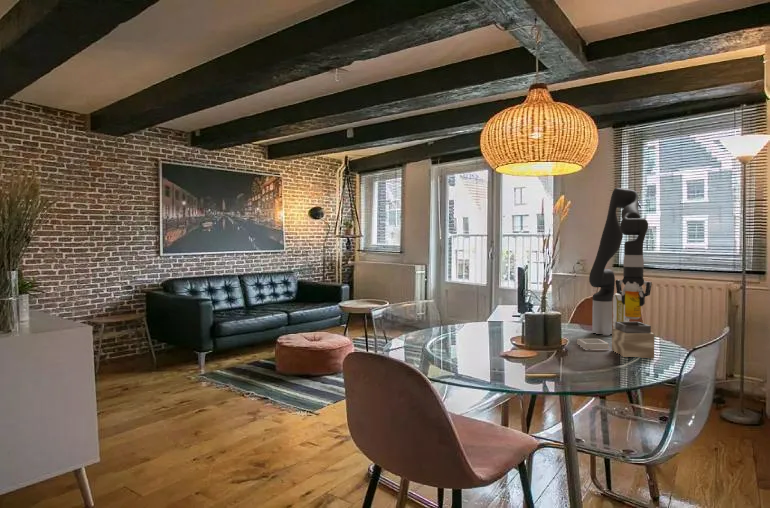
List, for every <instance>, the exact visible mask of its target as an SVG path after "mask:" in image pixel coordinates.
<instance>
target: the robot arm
mask: <svg viewBox="0 0 770 508" xmlns="http://www.w3.org/2000/svg"><path fill="white" fill-rule="evenodd" d="M618 208H619V209H622V210H621V215H620V216H621V221H620V223H619V220H618V217H617V209H618ZM648 228H649V222H648V221H647V219H646V218H642V217H641V216H640V212H639V194H638V192H637V191H636V190H633V189H629V188H621V187H616V188H614V189H613V191H612V194H611V196H610V201H609V206H608V212H607V216H606V220H605V224H604V228H603V230H602V233H601V234H602V235H601V238H600V241H599V245H598V250H597V253H596V256H595V259H594V261H593V265H592V266H591V267H592V268H591V269H590V272H589V276H588V278H589V279H588V280H589V281H588V282H589V285H590V286H591V287H593V288H600V289H599V290H598V291H597V292H595V293H594V294H593V295H592V328H591V329H592V332H593V333H596V334H603V335H602V336H611V335H610V334H612V328H613V297H614V295H615V288H616V293H617V294H620V295H621V296H622V303H623V304H624V305H625V285H626V284H627V283H631V284H636V285H637V284H639V286H640V287H641V289H640V288H639V287H638V292H639V295H640V296H641V297H640V306H641V307H644V305H645V304H646V303H645V302H646V300H645V299H646V297H648V296H650V295H651V291H652V290H651V289H652V285H653V283H652V281H646V280H645V279H644V266H645V263H644V243H645V242H644V241H645V238H646V235H647V232H648ZM624 236H637V237H636V238H635V239H632V240H628V241H627V240H626V241H625V243H624V247H623V248H624V252H623V253H624V255H623V274H622V275H623V278H622V279H617V280H616V278H615V273H614V272H613V270H612V269H609V268H606V266H607V264H608V262H609V261H610V260H611V259H612V258H613V257H614V256H615V254H617V252H618V250H619V249H621V245H622V241H623V237H624ZM622 285H624V287H623V289H622ZM643 285H644V286H645V291H644V289H643ZM592 332H591V333H592ZM593 333H592V334H593ZM596 334H595V335H596Z"/></svg>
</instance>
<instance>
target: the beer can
mask: <svg viewBox="0 0 770 508" xmlns="http://www.w3.org/2000/svg"><path fill="white" fill-rule="evenodd" d="M624 287H625V317H626V318H628V319H629V320H639V319H641V316H642V306H640V297H641V296H640V295H639V292H638V287H639V288H640V289H641V287H640V286H639V284H637V285H636V284H631V283H627V284H626V285H624Z"/></svg>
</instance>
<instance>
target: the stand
mask: <svg viewBox="0 0 770 508" xmlns="http://www.w3.org/2000/svg"><path fill="white" fill-rule="evenodd" d="M655 336H656V335H655V333H653V332H652V326H651V325H649V324H646V323H643V322H640V321H629V322H615V328H613V327H612V335H611V351H612V350H613V351H614V352H613V351H612V352H613V353H615V352H616V353H615V354H617V353H618V354H617V355H619V354H620V355H621V357H622V356H623V358H624V357H641V358H640V359H646V358H648V359H651V358H652V359H654V358H655ZM620 355H619V356H620Z"/></svg>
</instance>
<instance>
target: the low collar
mask: <svg viewBox="0 0 770 508" xmlns="http://www.w3.org/2000/svg"><path fill="white" fill-rule="evenodd" d="M576 344H578V345H580V346H582V347H583V348H585V349H609V348H610V347H609V345H610V344H609V342H607V341H604V340H602V339H600V338H576ZM578 345H577V346H578Z"/></svg>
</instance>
